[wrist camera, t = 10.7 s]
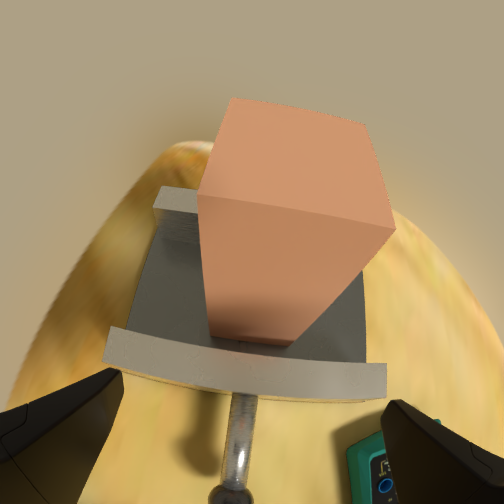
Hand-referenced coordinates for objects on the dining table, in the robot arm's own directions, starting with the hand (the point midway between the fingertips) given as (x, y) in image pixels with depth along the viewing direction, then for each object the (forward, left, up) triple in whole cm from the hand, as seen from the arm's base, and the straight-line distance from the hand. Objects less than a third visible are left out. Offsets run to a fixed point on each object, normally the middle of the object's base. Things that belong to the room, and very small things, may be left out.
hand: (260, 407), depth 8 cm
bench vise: (+3, 0, -9) cm, 10 cm away
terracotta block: (+7, 0, -8) cm, 11 cm away
